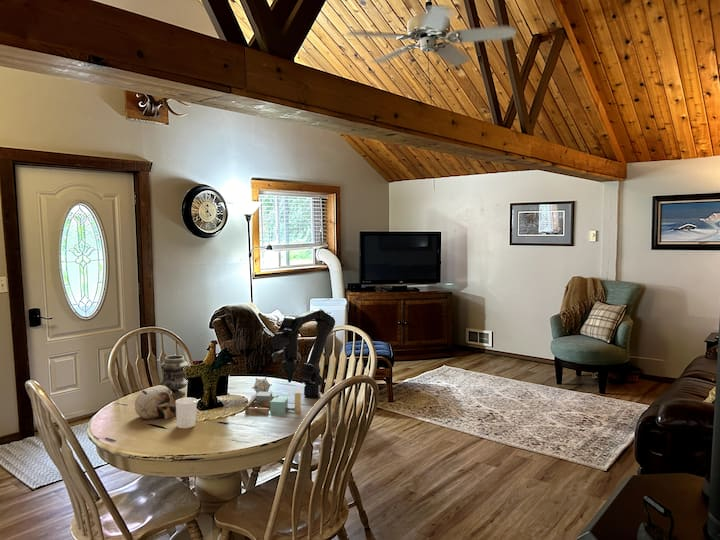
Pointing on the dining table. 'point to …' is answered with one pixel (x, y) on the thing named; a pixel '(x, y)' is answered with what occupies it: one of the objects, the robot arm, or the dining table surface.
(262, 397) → the slate block
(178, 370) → the apothecary jar
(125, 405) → the dining table surface
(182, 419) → the white cup
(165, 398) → the skull
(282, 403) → the teal cube mallet
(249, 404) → the shelf
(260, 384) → the grey spiky lump
